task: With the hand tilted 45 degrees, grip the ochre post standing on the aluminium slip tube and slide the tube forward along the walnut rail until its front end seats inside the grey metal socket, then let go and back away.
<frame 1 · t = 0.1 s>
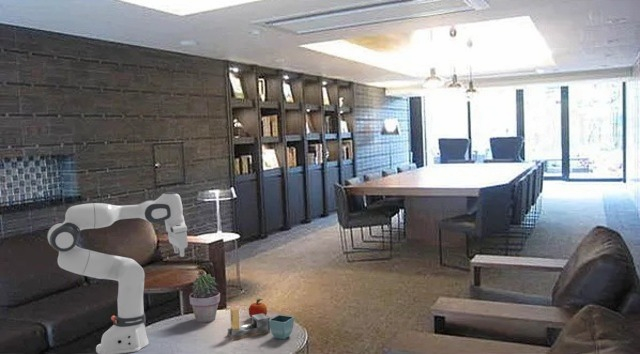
hand: (179, 254, 262), 39 cm above the table, tool pointing down, fingers open, 8 cm apart
fruit: (257, 319, 287), on the table
flower pot: (282, 337, 259), on the table
slip tube: (242, 320, 263), point 7 cm above the table, slide at 0.0 cm
potted plant: (206, 320, 287), on the table
rail base: (247, 333, 265), on the table
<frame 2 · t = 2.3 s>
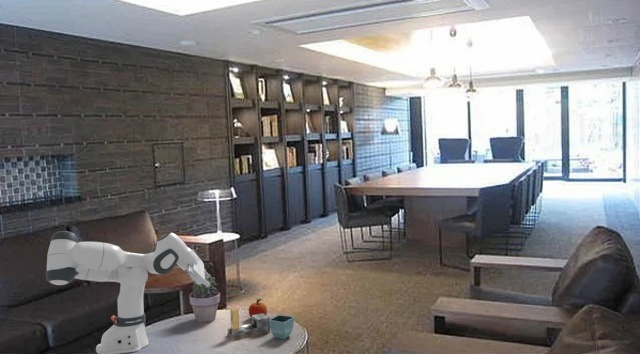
hand: (208, 281, 252), 28 cm above the table, tool tilted 40°, fingers open, 8 cm apart
nothing on the table moved.
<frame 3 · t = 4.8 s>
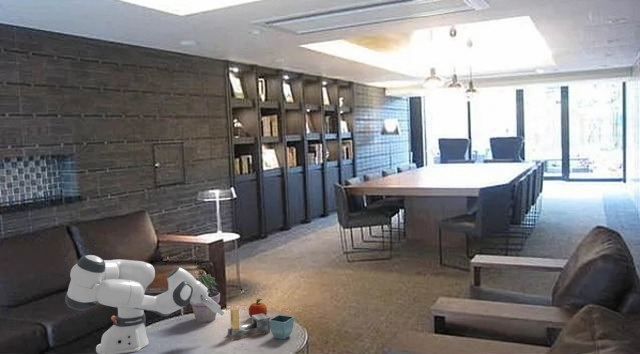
hand: (219, 311, 256), 13 cm above the table, tool tilted 45°, fingers open, 8 cm apart
nothing on the table moved.
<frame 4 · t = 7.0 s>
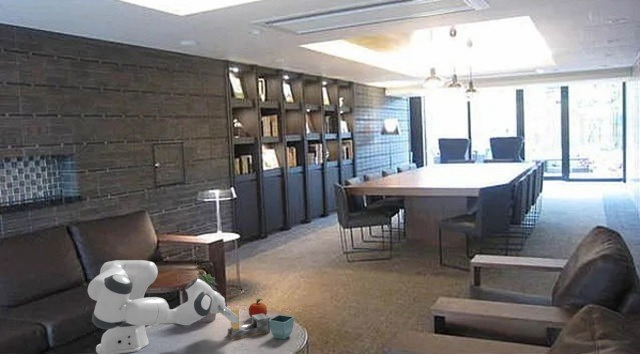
hand: (236, 320, 261), 7 cm above the table, tool tilted 45°, fingers closed on slip tube, 3 cm apart
slip tube: (242, 320, 263), point 7 cm above the table, slide at 0.0 cm, touching gripper
everything else where it was.
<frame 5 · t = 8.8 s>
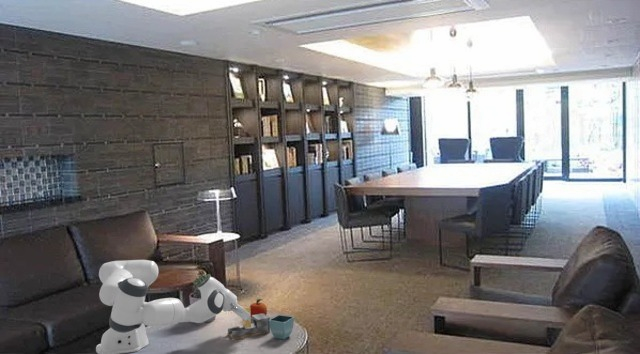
hand: (248, 318, 264), 7 cm above the table, tool tilted 45°, fingers closed on slip tube, 3 cm apart
slip tube: (253, 317, 266), point 7 cm above the table, slide at 5.9 cm, touching gripper
everything else where it was.
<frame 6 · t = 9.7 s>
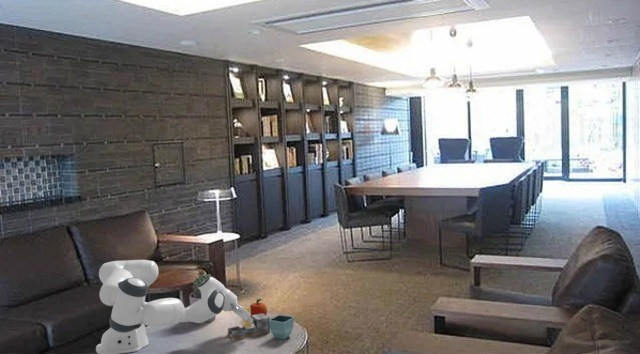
hand: (248, 318, 264), 7 cm above the table, tool tilted 45°, fingers open, 8 cm apart
slip tube: (253, 317, 266), point 7 cm above the table, slide at 6.0 cm
everything else where it was.
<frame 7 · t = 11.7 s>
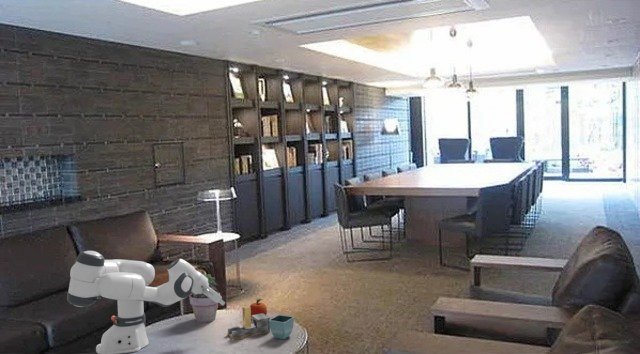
hand: (219, 301, 258), 18 cm above the table, tool tilted 45°, fingers open, 8 cm apart
nothing on the table moved.
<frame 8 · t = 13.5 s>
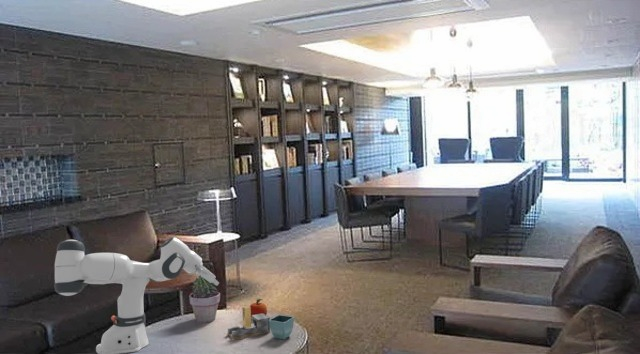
hand: (214, 281, 255), 27 cm above the table, tool tilted 45°, fingers open, 8 cm apart
nothing on the table moved.
at the end: slip tube slide at 6.0 cm; the gripper is holding nothing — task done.
